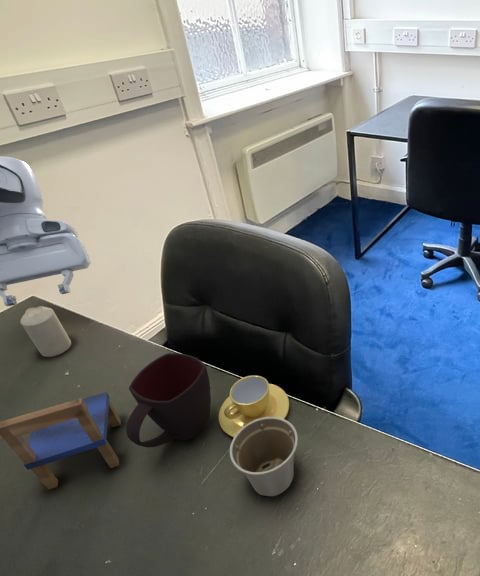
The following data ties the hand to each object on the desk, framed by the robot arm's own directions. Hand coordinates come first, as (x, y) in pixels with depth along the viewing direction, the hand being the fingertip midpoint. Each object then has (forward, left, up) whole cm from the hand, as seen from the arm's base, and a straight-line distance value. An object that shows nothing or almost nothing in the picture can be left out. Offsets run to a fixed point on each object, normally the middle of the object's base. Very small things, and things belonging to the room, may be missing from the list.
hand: (38, 299), depth 89 cm
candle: (+2, -5, -10) cm, 11 cm away
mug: (+34, -28, -10) cm, 45 cm away
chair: (+20, -31, -10) cm, 38 cm away
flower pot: (+50, -37, -10) cm, 64 cm away
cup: (+46, -25, -9) cm, 53 cm away
